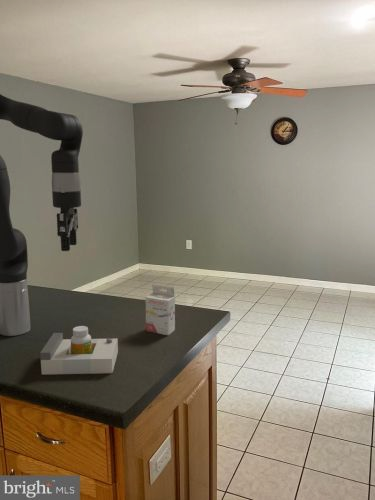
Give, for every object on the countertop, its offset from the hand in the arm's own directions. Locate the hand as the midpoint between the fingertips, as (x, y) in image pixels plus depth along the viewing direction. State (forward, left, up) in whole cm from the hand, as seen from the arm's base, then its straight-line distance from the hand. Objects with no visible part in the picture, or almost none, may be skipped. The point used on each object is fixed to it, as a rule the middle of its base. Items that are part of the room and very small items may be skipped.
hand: (69, 247), depth 118 cm
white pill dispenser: (+4, -10, -30) cm, 32 cm away
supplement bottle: (+4, -9, -30) cm, 32 cm away
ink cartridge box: (+25, +12, -30) cm, 41 cm away
